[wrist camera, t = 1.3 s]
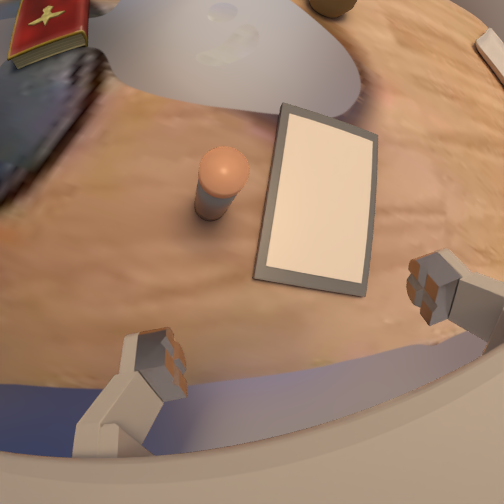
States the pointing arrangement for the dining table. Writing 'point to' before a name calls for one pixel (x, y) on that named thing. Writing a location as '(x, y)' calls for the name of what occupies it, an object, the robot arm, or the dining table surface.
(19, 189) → the dining table surface
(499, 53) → the salad plate
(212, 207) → the marker
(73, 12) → the hardcover book
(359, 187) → the writing board
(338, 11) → the squeeze bottle
